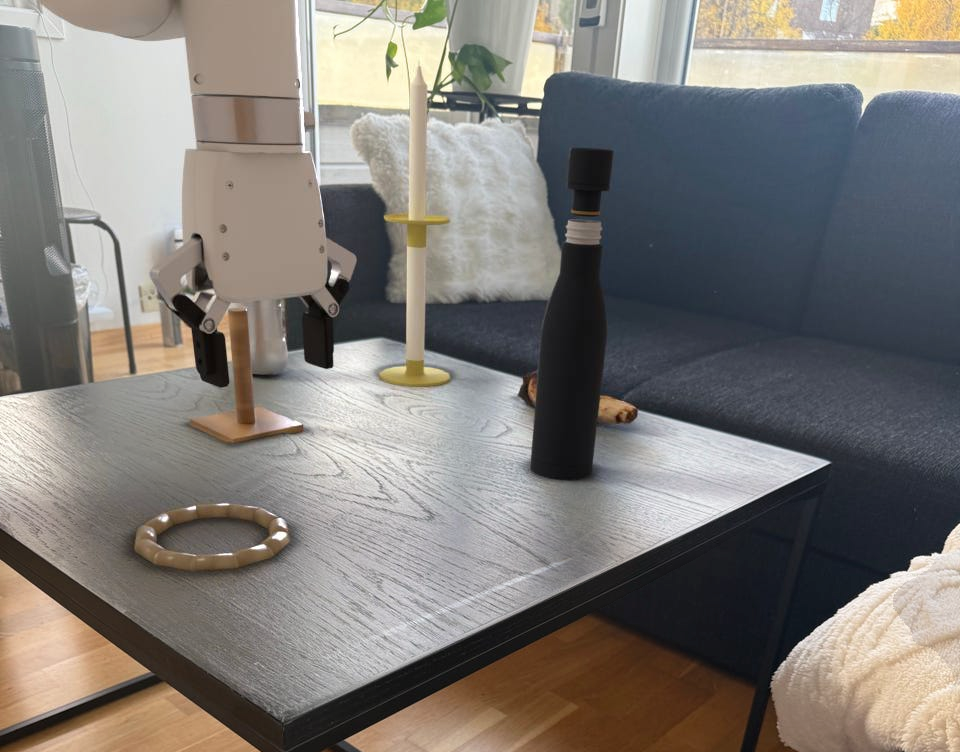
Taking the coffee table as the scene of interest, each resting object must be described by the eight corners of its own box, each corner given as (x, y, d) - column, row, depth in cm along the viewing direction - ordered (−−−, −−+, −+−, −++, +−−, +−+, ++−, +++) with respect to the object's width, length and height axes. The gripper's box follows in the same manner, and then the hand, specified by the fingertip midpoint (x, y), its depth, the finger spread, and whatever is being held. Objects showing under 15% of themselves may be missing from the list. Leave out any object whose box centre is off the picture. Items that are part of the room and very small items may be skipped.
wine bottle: (520, 477, 94) (544, 146, 79) (543, 460, 99) (570, 146, 85) (579, 489, 92) (615, 151, 77) (599, 470, 97) (637, 150, 82)
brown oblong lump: (487, 412, 116) (601, 443, 105) (487, 374, 114) (604, 403, 103) (535, 397, 122) (648, 426, 111) (536, 361, 120) (652, 387, 109)
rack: (233, 449, 98) (222, 320, 91) (190, 429, 103) (176, 306, 96) (304, 434, 103) (298, 312, 97) (259, 416, 109) (250, 298, 102)
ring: (185, 593, 69) (182, 573, 68) (110, 541, 76) (106, 523, 75) (318, 551, 76) (317, 533, 76) (238, 507, 84) (237, 491, 83)
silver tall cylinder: (241, 367, 128) (229, 210, 118) (291, 368, 129) (282, 212, 119) (236, 379, 123) (222, 215, 113) (287, 380, 123) (278, 217, 113)
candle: (462, 375, 130) (474, 64, 112) (429, 390, 122) (436, 58, 104) (401, 365, 134) (403, 62, 115) (365, 379, 126) (360, 56, 107)
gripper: (318, 128, 72) (328, 351, 81) (106, 123, 61) (144, 381, 70) (379, 132, 68) (383, 368, 76) (162, 127, 57) (195, 402, 65)
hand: (269, 374), depth 73 cm, fingers open, 9 cm apart
